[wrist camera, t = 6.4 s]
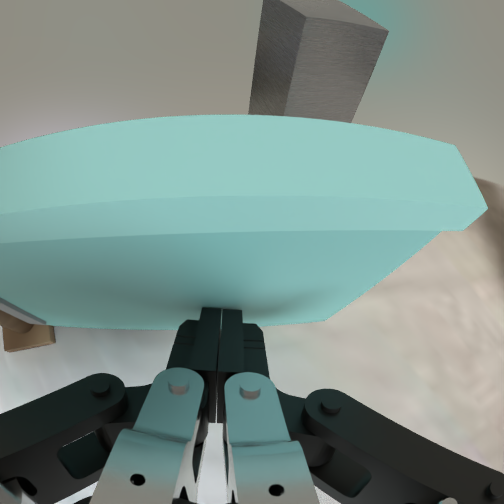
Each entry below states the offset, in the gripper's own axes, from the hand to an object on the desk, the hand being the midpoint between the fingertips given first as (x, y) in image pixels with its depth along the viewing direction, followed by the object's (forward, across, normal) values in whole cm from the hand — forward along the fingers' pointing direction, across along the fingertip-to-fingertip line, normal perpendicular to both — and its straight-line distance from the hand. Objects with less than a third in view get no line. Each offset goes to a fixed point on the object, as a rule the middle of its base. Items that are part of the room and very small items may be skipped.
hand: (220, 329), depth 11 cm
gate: (+3, +3, +1) cm, 4 cm away
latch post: (+8, -2, -3) cm, 9 cm away
